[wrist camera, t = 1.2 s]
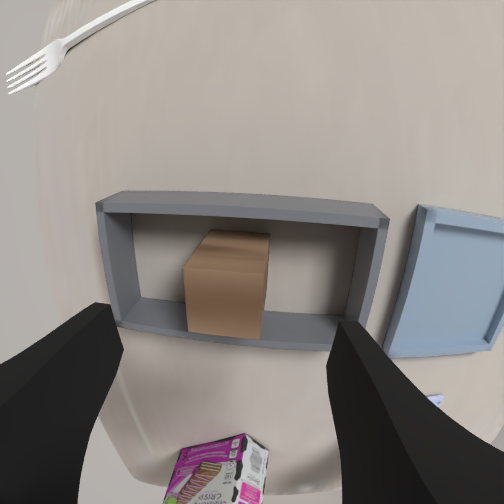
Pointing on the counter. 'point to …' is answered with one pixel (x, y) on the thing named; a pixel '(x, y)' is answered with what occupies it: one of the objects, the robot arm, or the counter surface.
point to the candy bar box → (220, 473)
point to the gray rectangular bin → (243, 206)
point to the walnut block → (227, 284)
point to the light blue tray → (449, 286)
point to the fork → (67, 46)
